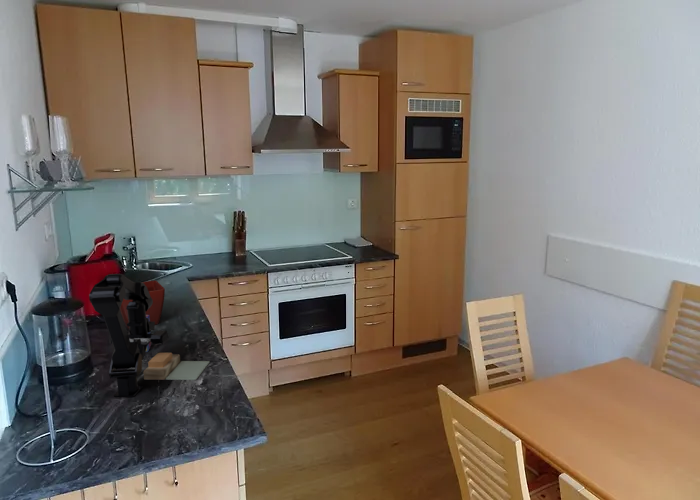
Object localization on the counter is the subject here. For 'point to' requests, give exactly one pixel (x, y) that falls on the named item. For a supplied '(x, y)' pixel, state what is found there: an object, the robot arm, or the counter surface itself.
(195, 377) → the sage mat
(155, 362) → the orange block
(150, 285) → the plant pot
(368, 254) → the counter surface
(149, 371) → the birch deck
